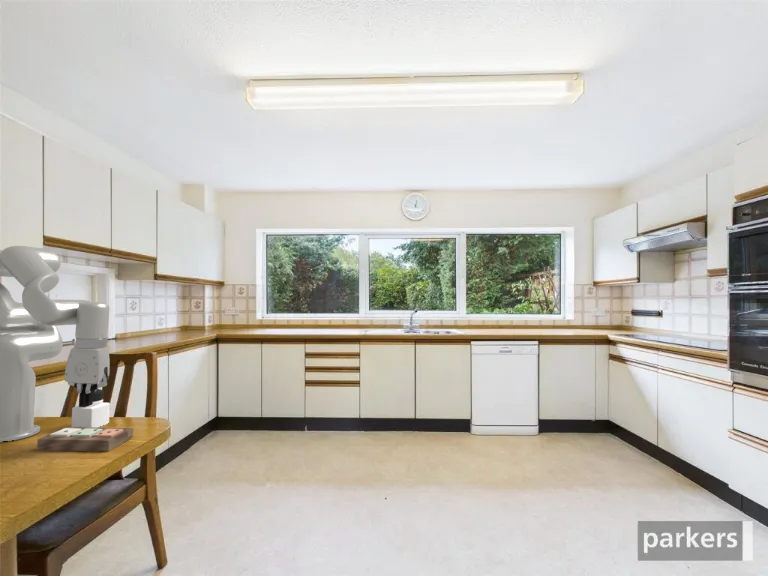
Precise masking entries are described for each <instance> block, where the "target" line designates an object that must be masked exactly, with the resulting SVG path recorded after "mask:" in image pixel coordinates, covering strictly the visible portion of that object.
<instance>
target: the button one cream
mask: <svg viewBox="0 0 768 576" xmlns="http://www.w3.org/2000/svg"><path fill="white" fill-rule="evenodd" d="M81 430H82V429H80V428H66V427H64V428H62V429H60V430H57V431H54V432H52V433H49V434H50V436H51V437H68V436H70V435H72V434H75V433H77V432H79V431H81Z"/></svg>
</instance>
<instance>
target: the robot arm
mask: <svg viewBox="0 0 768 576" xmlns="http://www.w3.org/2000/svg"><path fill="white" fill-rule="evenodd" d="M61 262H62V261H61V259H60V257H59V255H58V254H57V253H56V252H55V251H53V250H50V249H46V248H41V247H35V246H34V247H33V246H26V245H12V246H8V247H6V248H4V249H2V250H1V249H0V277H7V278H14V279H15V280H16V281H17V282H18V283H19V284H20V285H21V286H22V287H23V290H22V293H21V301H22V302H17V301H15V300H14V298H13V297H12V295H11V292H10V290H9V289H8V288H7V287H6V286H5V285H4V284H2V283H1V282H0V334H1V335H0V443H3V442H2V441H8V442H13V441H12V440H14V441H17V440H21V439H26V438H29V437H31V436H34V435H37V434H38V433H39V432H40V431H41V427H40V425H37V424H34V421H35V403H36V402H35V401H36V381H37V380H36V379H37V378H36V373H35V371H34V369H33V368H32V367H31V366H30V364H29V363H30V362H35V361H41V360H49V359H52V358H55V357H57V356H58V355H59V354H60V353H62V351H63V347H64V346H63V345H64V343H63V338H62V335H61V333H60V331H59V329H58V328H57V326H72V325H74V326H75V334H74V335H75V336H74V338H73V339H71V344H73V345H74V347H72V348H71V349H70V350H69V354H68V357H67V358H66V359H67V361H66V365H65V371H64V381H65V382H67V384H68V385H69V386H72V387H74V388H75V389H76V392H77V393H78V394H79V396H78V406H79V407H87V406H90V405H92V404H93V398H94V391H96V390H97V389H101V388H103V387H106V386H108V381H107V380H108V379H109V377H110V372H111V371H110V368H111V367H110V365H111V364H110V362H111V360H110V352H109V348H108V347H107V344H108V343H107V342H108V333H109V321H110V320H109V319H110V305H109V304H108V303H106V302H101V301H90V300H86V299H52V298H50V297H49V296H48V295H47V294H46V293H48V292H50V291H51V290H53V289H55V288H56V286H57V285H58V284H59V281H60V277H59V275H58V271H59V269H60V267H61Z"/></svg>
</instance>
